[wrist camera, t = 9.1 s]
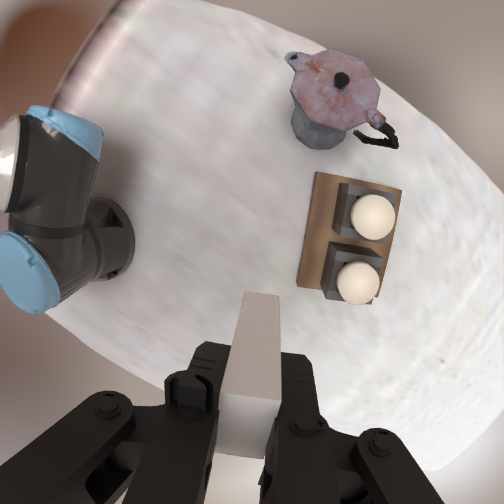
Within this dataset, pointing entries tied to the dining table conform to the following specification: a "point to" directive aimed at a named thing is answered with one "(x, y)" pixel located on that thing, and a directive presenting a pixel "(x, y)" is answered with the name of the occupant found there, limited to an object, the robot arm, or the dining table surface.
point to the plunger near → (372, 216)
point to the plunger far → (357, 282)
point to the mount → (340, 233)
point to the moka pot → (335, 100)
